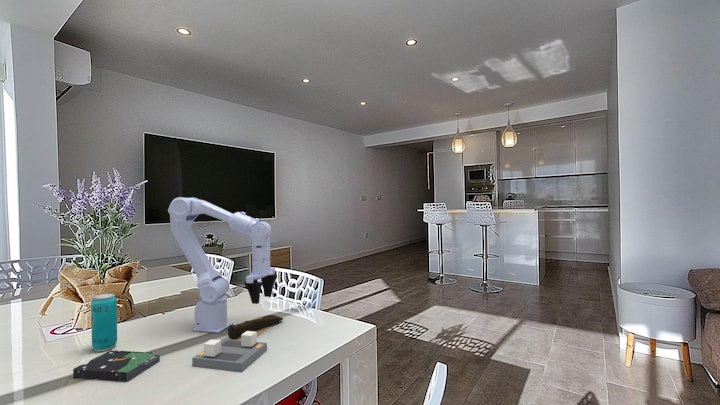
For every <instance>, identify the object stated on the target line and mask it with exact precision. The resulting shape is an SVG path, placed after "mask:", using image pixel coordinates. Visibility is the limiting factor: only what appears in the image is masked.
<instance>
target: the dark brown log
mask: <svg viewBox="0 0 720 405" xmlns="http://www.w3.org/2000/svg"><path fill="white" fill-rule="evenodd" d="M255 319H256V318H255ZM283 319H284V317H281V316H279V315H274V314H269V315H264V316H262V318H260V319H256V320H254V319H253V320H245V321H243V322H242V323H237V324H232V325H230V326H229V327H227V337H228V336H229V337H230V338H231V339H233V340H234V339H235V338H236V337H237V336H240V335H242V334H243V333H245V332H246V331H255V330H259V329H261V328H264V327H267V326H271V327H272V326H275V325H276V324H279V323H280V322H281V321H282V320H283Z"/></svg>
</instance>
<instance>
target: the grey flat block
mask: <svg viewBox="0 0 720 405" xmlns="http://www.w3.org/2000/svg"><path fill="white" fill-rule="evenodd" d="M220 340H221V352H220V353H219V354H218V355H216V356H215V357H211V356H204V350H203V351H201V352H199V353H198V354H196V355H195V356H193V357H192V359H191V360H192V365H191V366H192V367H199V368H208V369H217V370H222V371H223V370H225V371H231V372H240V373H243V372H244V371H245V370H246V369H247V368H248V367H249V366H250V365H252V364H253V363H254V362H255V361H256V360H257V359H258V358H260V357H261V356H262V355H263V354H264V353H266V352H267V350H268V343H267V342H262V341H261V342H260V341H257V343H256V344H255V345H253V346H252V347H246V346H241V340H232V339H225V338H221V339H220Z"/></svg>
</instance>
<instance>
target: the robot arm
mask: <svg viewBox="0 0 720 405" xmlns="http://www.w3.org/2000/svg"><path fill="white" fill-rule="evenodd" d="M167 212H168V214H169V221H170V222H169V223H170V224H169V225H170V231H171V233H172V236H173V237H174V238H175V240H176V242H177V244H178V245H179V247H180V249H181V251H182V252H183V254H184V256H185V258H186V260H187V262H188V264H189V265H190V266H191V268H192V270H193V271H194V274H195V275H196V277H197V281H196V286H197V288H198V291H199V292H198V293H199V298H200V300H199V301H198V302H197V303H196V304H195V307H194V328H192V331H194V332H208V333H220V332H222V331H224V330H225V329H228V328H229V326H230V325H234V322H232V321H228V297H227V293H228V292H229V290H230V282H229V281H228V279H226V278H225V277H223V275H222V274H221V273H220V272H219V271H218V270H216V269H215V268H214V266H213V265H212V263H211V261H210V260H209V258H208V256H207V254H206V253H205V251H204V249H203V247H202V246H201V244H200V242H199V241H198V239H197V237H196V235H195V233H194V232H193V230H192V226H193V223H194V221H195V219H196V218H197V217H198V216H199V215H206V216H210V217H212V218H215V219H218V220H220V221H224V222H226V223H228V225H229V226H228V227H230V228H231V229H233V230H235V231H237V232H240V233H242V234H244V235H247V236H249V237H250V238H251V241H252V242H251V254H252V255H251V256H252V257H251V266H252V268H251V269H252V270H251V272H250V274H249V275H247V276H245V281H243V282H244V284H243V285H244V287H245V288H246V290H247V291H248V293H249V297H250V301H251V304H253V305H254V304H255V305H258V304H259V303H260V299H261V298H260V297H261V289H262V288H263V296H264V297H265V298H271V297H272V293H273V289H274V286H275V282H276V280H277V278H278V274H276V268H275V267H271V243H270V242H271V240H270V239H271V237H270V235H271V234H272V226H271V224H269V223H268V222H267V221H265V220H262V221H260V219H259V218H257V217H256V218H254V217H251V216H249V215H246V214H247V212H244V211H237V212H234V213H232V212H230V211H228V210H226V209H224V208H222V207H219V206H217V205H215V204H213V203H211V202H209V201H207V200H203V199H199V198H197V197H195V196H192V197H183V196H182V197H181V196H178V197H176V198H173V200H172V201H171V202H170V204H169V207H168V209H167ZM259 280H261V281H259Z"/></svg>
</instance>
